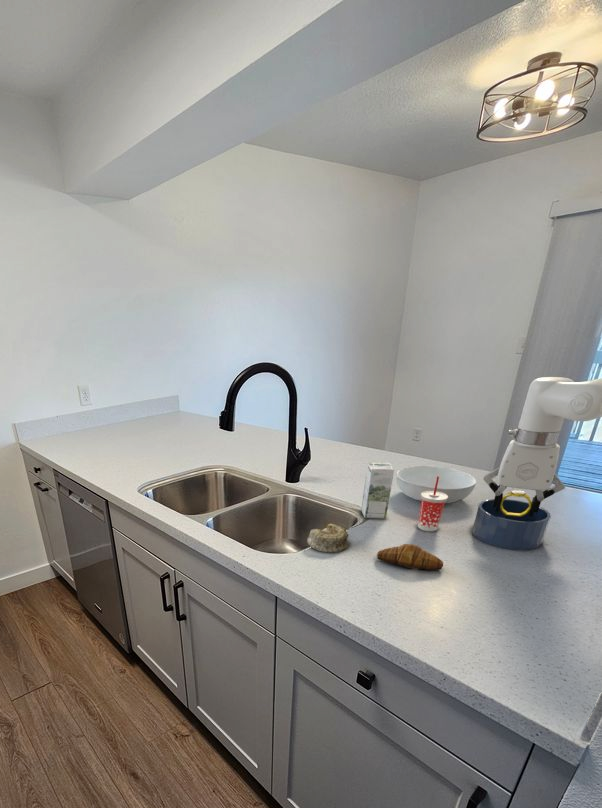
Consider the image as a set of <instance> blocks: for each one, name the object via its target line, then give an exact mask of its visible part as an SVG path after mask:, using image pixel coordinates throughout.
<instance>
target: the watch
mask: <svg viewBox="0 0 602 808" xmlns="http://www.w3.org/2000/svg"><path fill="white" fill-rule="evenodd" d="M526 493H527V492H526V491H524V490H520V489H514V490H511V491H510V492H509V493H506V494H505V495H503V498H502V502H501V505H500V508H501V511H502V512H503V513H504V514H505V515H510V516H519V517H521V516H523V515H525V514H527V513H528V512H529V511H530V509H531V504H532V499H531V497H530V496H529V495H528V494H526ZM512 496H513V497H517V498H518V497H519V498H520V497H521V498H522V497H523V498H525V499H526V500H527V502H528V503H529V507H528V508H527V510H526V511H524V512H522V513H509V512H507V511H505V510H504V509H503V506H502V503H503V501H504V500H505V499H508V498H509V497H512Z"/></svg>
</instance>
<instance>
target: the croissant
mask: <svg viewBox="0 0 602 808" xmlns="http://www.w3.org/2000/svg"><path fill="white" fill-rule="evenodd" d="M376 558H377V560H379V561H381V562H383V563H386V564H390V565H396V566H400V567H403V568H406V569H415V570H420V569H421V570H425V571H438V570H442V569H443V567H444V561H443V560H442V559H440V557H437V556H436V555H434V554H432V553H431V552H429V551H426V550H424V549H423V548H422V547H421V546H419V545H416V544H413V543H407V544H406V543H404V544H402V545H398V546H392V547H387V548H383V549H381V550H379V551H378V552H377V553H376Z"/></svg>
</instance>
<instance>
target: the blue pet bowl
mask: <svg viewBox="0 0 602 808" xmlns="http://www.w3.org/2000/svg"><path fill="white" fill-rule="evenodd" d="M494 499H495V498H491V499H485V500H481V502H480V503H478V506H477V509H476V514H475V518H474V522H473V524H472V525H473V526H472V531H471V532H472V534H473V536H474V537H475V538H477V539H478V540H480V541H481V542H484V543H486V544H488V545H491V546H495V547H499V548H503V549H508V550H509V549H510V550H518V551H519V550H520V551H522V550H525V551H526V550H533V549H536V548H539V547H540V546H541V545H542V543H543V541H544V537H545V534H546V532H547V528H548V526H549V523H550V522H551V518H552V516H551V513H550V511H549V510H547V509H545V508H544V507H542V506H539V509H538V512H537V513H536V512H534V514H533V517H530V516H529V512H528V513H527V514H525V515H523V516H521V517H519V516H510V515H505V514H504V513H503V512H502V511H501V508H499V511H498V512H496V511H495V507H493V502H494ZM502 506H503V509H504V510H505V511H507V512H509V513H522V512H524V511H526V510H527V508H528V507H529V502H528V501H522V500H517V499H509V498H506V499H505V500H504V501H503V503H502Z"/></svg>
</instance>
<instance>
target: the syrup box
mask: <svg viewBox="0 0 602 808" xmlns="http://www.w3.org/2000/svg"><path fill="white" fill-rule="evenodd" d="M394 475H395V469H394V467H393V466H392V464H391V463H390V462H368V463H367V466H366V474H365V482H364V489H363V496H362V503H361V509H360V510H361V512H362V515H363V518H364V519H376V520H377V519H378V520H380V519H381V520H385V519H387V515H388V509H389V503H390V496H391V492H392V486H393V480H394Z"/></svg>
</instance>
